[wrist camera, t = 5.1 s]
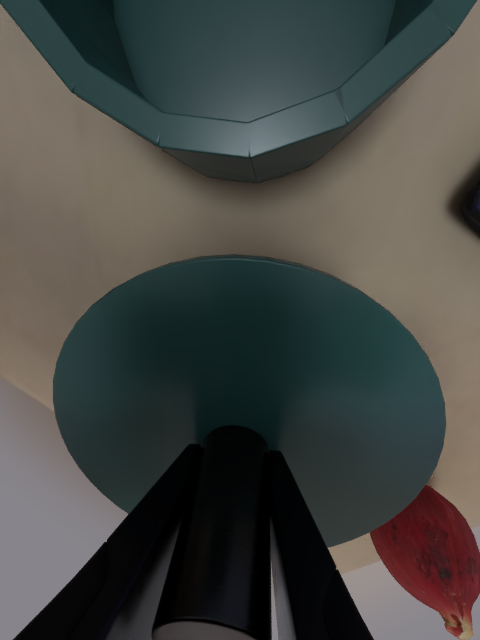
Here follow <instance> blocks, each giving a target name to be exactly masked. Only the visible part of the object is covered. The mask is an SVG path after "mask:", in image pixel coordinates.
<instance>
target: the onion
mask: <svg viewBox="0 0 480 640" xmlns="http://www.w3.org/2000/svg"><path fill="white" fill-rule="evenodd" d="M370 536H371V539H372V541H373V544H374V546H375V549H376V551H377V553H378V554H379V556H380V558H381V560H382V561H383V563H384V565H385V566H386V568H387V569H388V570H389V572H390V573H391V575H392V576H393V577H394V578H395V580H396V581H397V582H398V583H399V584H400V585H401V586H402V587H403V588H404V589H405V590H406V591H407V592H409V593H410V594H411V595H412V596H413V597H415V598H416V599H417V600H419V601H420V602H422V603H423V604H425V605H427V606H429V607H430V608H432V609H434V610H436V611H438V612H439V613H440V615H441V616H442V618H443V619H444V621H445V627H446V630H447V631H448V632H450V633H451V634H453V635H454V636H455V637H457V638H458V639H460V640H467V639H469V638H471V637H472V636H473V632H472V617H471V610H472V606H473V603H474V602H475V600H476V599H477V598H478V595H479V593H480V552H479V549H478V546H477V543H476V541H475V537H474V535H473V533H472V531H471V529H470V527H469V525H468V523H467V521H466V519H465V518H464V517H463V516H462V514H461V513H460V512H459V511H458V510H457V508H456V507H455V506H454V505H453V504H452V503H451V502H449V501H448V500H447V499H446V498H444V497H443V496H442V495H440V494H439V493H438V492H437V491H435V490H434V489H433V488H432V487H430V486H427V485H425V486H424V488H423V489H422V490H421V491H420V493H419V494H418V495H417V497H416V498H415V499H414V500H413V501H412V502H411V503H410V504H409V505H408V506H407V507H406V508H404V509H403V510H402V511H401V512H400V513H399V514H397V515H396V516H395V517H393V518H392V519H390V520H389V521H388V522H386V523H385V524H383V525H381V526H380V527H378V528H376V529H374V530H373V531H371V532H370Z"/></svg>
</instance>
